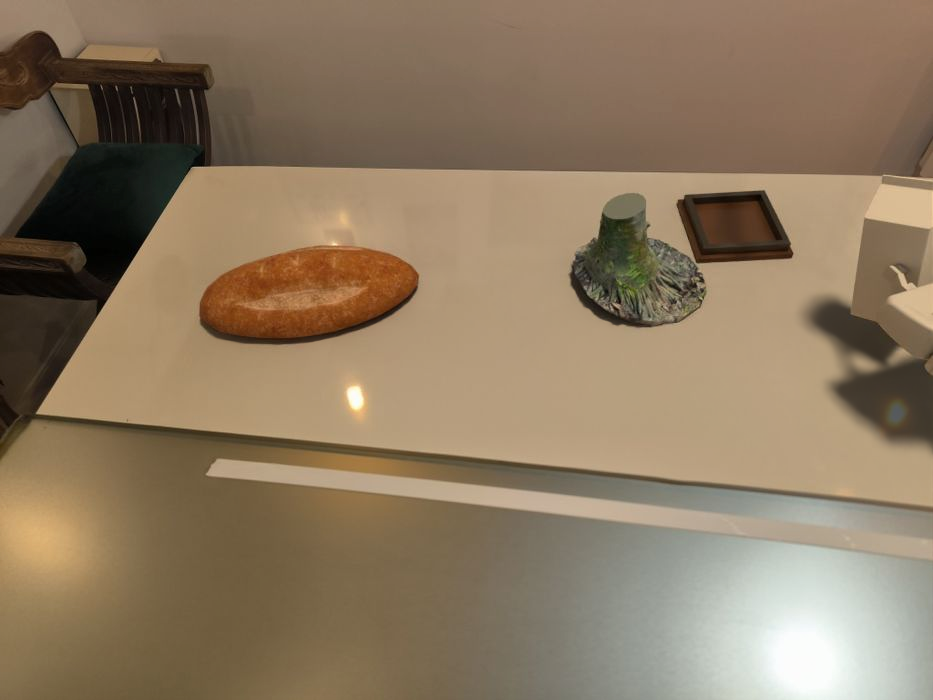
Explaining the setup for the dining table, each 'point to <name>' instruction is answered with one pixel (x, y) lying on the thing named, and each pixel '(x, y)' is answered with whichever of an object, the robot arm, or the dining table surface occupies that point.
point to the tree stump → (637, 268)
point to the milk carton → (894, 241)
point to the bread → (307, 292)
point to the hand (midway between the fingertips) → (920, 259)
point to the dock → (733, 227)
